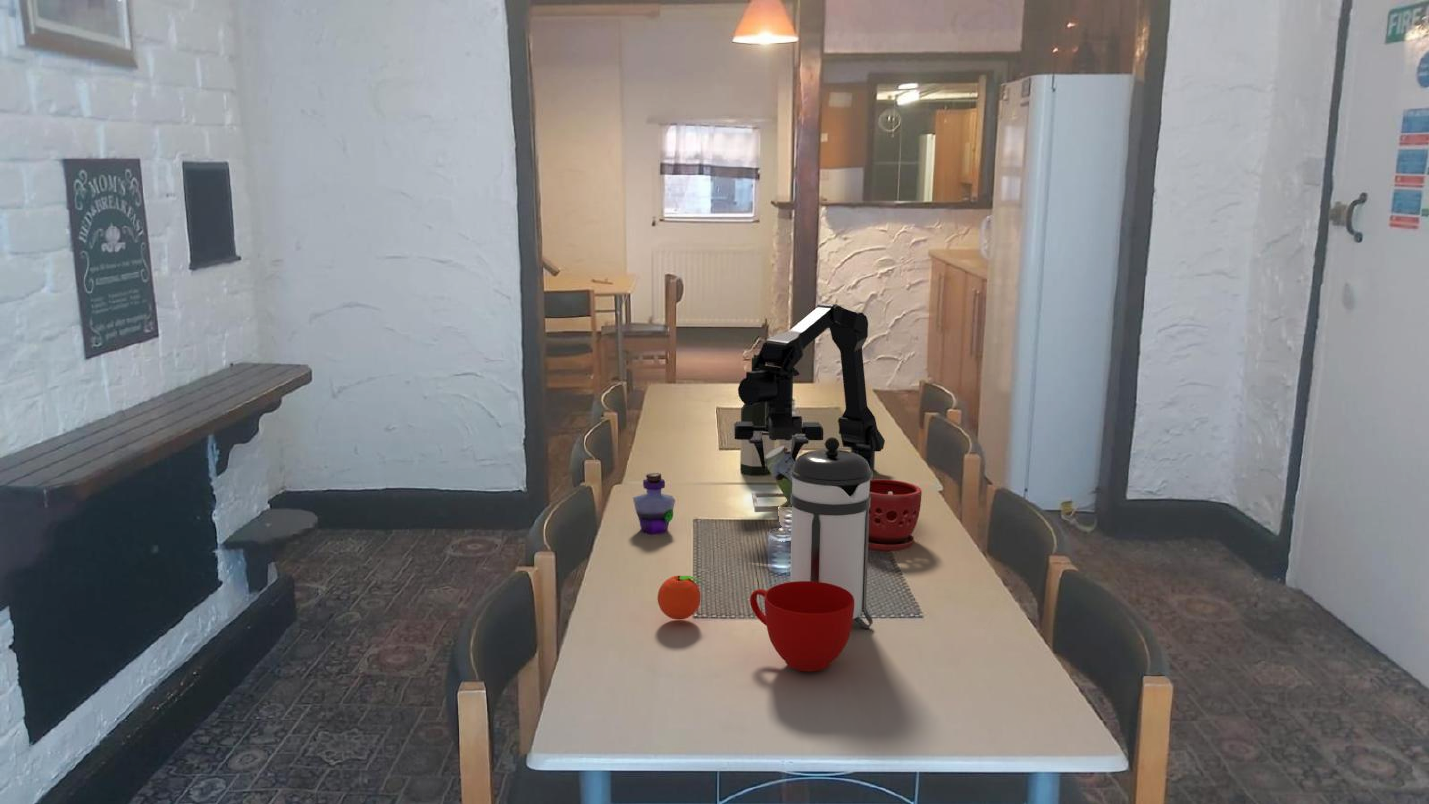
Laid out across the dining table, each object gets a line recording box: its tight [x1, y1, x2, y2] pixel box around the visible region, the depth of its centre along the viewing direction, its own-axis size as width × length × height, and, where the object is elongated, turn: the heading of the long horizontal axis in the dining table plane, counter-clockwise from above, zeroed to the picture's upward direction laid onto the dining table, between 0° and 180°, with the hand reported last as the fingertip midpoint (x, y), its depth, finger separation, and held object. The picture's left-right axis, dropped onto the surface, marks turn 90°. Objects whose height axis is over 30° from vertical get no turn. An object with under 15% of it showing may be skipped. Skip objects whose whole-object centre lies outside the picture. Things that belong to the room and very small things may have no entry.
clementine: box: [657, 575, 706, 620], centre depth 173 cm, size 8×7×7 cm
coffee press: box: [789, 436, 874, 630], centre depth 172 cm, size 17×16×30 cm
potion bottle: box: [632, 472, 676, 535], centre depth 215 cm, size 9×9×12 cm
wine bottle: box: [739, 352, 775, 477], centre depth 253 cm, size 8×8×30 cm
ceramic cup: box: [749, 581, 854, 672], centre depth 158 cm, size 13×17×10 cm
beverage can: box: [765, 445, 796, 502], centre depth 232 cm, size 6×7×12 cm
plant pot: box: [868, 478, 923, 552], centre depth 209 cm, size 13×13×12 cm
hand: (777, 470), depth 231 cm, fingers open, 5 cm apart
